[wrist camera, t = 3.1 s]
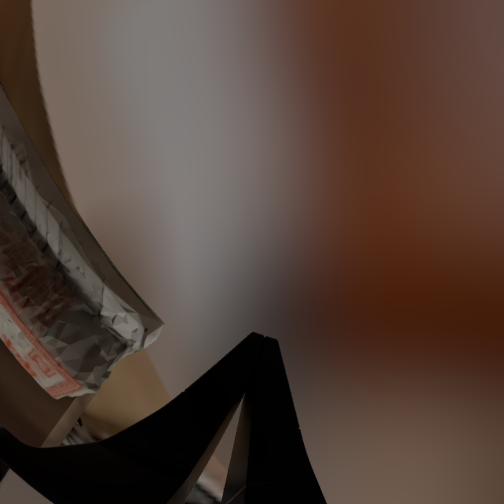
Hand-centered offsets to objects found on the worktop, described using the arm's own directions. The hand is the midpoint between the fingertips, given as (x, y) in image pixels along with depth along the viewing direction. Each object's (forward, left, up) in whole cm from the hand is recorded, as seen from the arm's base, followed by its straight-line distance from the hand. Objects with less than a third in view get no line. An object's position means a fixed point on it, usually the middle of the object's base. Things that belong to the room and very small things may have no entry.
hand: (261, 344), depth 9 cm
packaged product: (-1, +14, -2) cm, 14 cm away
